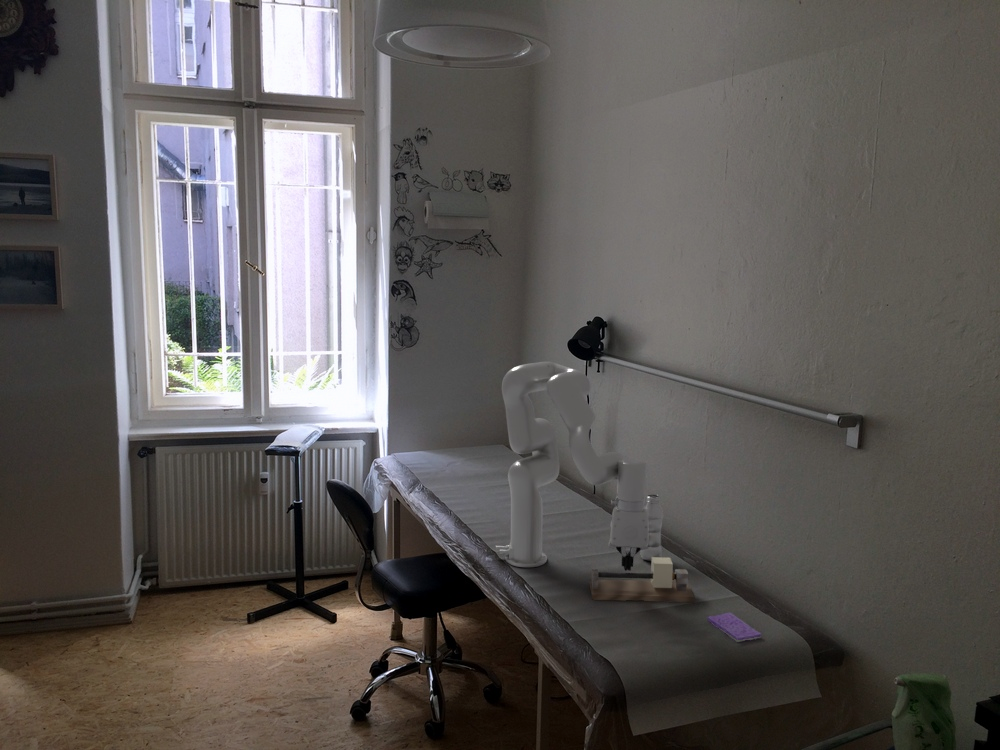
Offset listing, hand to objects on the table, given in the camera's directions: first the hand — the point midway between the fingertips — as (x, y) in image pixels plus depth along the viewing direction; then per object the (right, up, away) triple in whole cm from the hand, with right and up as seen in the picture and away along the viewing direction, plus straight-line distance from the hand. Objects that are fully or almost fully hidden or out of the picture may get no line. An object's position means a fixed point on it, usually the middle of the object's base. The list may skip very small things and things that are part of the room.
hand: (627, 568), depth 217 cm
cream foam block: (+9, -4, 0) cm, 10 cm away
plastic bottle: (+11, -4, +25) cm, 28 cm away
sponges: (+23, -11, -20) cm, 32 cm away
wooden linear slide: (+4, -7, +1) cm, 8 cm away
